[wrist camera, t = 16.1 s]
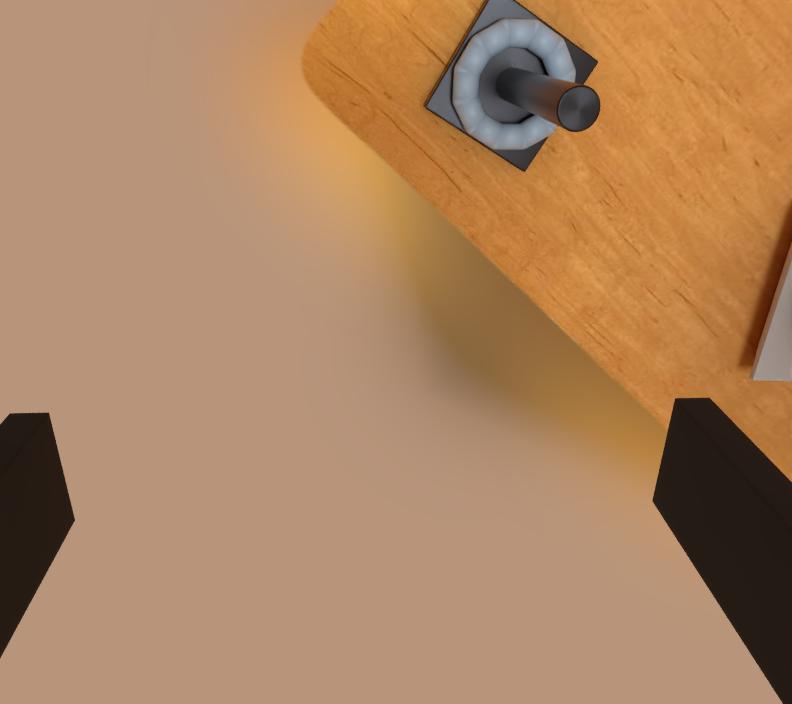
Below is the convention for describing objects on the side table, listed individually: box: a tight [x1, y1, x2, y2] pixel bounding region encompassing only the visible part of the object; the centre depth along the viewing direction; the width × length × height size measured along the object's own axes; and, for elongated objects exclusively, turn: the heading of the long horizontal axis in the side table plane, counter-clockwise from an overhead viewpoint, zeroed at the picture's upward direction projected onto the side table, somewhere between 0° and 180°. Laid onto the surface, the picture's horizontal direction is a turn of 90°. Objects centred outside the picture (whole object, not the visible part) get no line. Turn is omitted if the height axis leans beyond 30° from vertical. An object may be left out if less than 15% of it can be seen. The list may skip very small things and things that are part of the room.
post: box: [424, 0, 600, 172], centre depth 37 cm, size 8×8×15 cm
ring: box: [452, 18, 576, 150], centre depth 42 cm, size 8×8×2 cm
